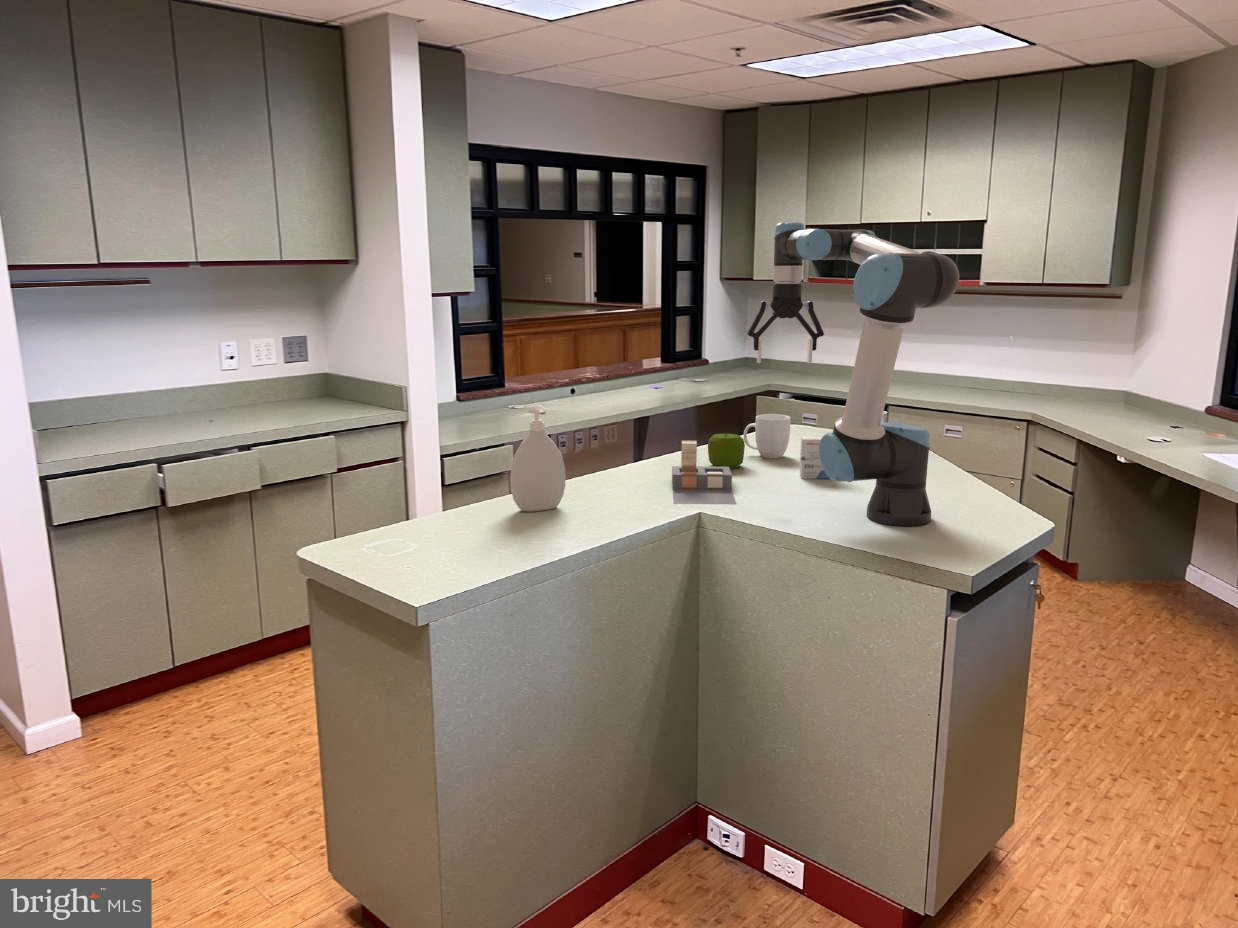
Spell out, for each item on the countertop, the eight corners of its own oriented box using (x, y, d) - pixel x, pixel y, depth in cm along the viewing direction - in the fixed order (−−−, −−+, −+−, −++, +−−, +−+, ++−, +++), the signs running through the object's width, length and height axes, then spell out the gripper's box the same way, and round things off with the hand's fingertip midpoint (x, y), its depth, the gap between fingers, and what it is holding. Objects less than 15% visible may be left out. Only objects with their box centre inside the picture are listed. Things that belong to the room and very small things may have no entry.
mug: (739, 457, 283) (740, 417, 280) (746, 451, 293) (747, 412, 290) (785, 461, 278) (787, 420, 275) (791, 454, 288) (793, 415, 285)
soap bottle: (517, 517, 217) (514, 409, 211) (507, 509, 224) (504, 404, 218) (572, 510, 223) (570, 405, 217) (561, 502, 230) (559, 400, 224)
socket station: (736, 508, 224) (737, 487, 223) (673, 507, 225) (673, 487, 224) (728, 483, 250) (728, 464, 248) (671, 483, 250) (671, 464, 249)
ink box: (828, 475, 259) (830, 436, 257) (830, 479, 255) (832, 439, 252) (798, 474, 260) (800, 435, 258) (800, 478, 255) (802, 439, 253)
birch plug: (696, 486, 242) (696, 443, 239) (681, 486, 242) (682, 443, 239) (695, 482, 246) (696, 440, 243) (681, 482, 246) (681, 440, 243)
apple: (745, 463, 275) (747, 429, 272) (741, 471, 264) (742, 435, 262) (710, 461, 278) (711, 427, 275) (704, 469, 267) (705, 434, 265)
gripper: (831, 282, 237) (827, 361, 242) (739, 282, 238) (736, 361, 242) (837, 283, 229) (833, 364, 234) (741, 283, 230) (739, 364, 235)
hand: (784, 362), depth 238 cm, fingers open, 13 cm apart
